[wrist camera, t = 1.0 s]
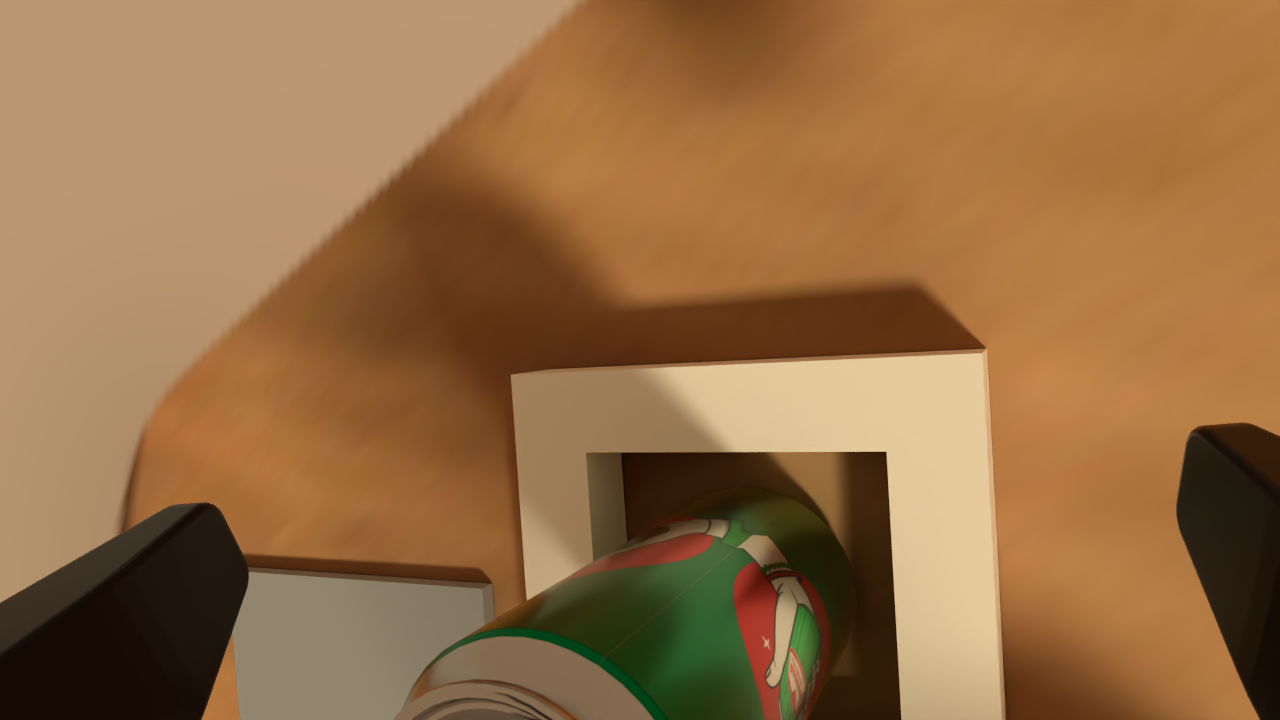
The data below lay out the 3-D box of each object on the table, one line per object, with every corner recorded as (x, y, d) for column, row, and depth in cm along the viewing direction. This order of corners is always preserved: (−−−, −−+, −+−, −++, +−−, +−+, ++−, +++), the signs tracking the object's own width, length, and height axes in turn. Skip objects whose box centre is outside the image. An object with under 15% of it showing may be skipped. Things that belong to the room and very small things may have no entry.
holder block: (1012, 839, 20) (1010, 893, 18) (577, 769, 25) (541, 806, 23) (986, 348, 20) (982, 353, 18) (549, 369, 24) (510, 374, 22)
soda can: (638, 613, 24) (297, 880, 13) (712, 447, 22) (408, 582, 12) (808, 721, 22) (584, 1138, 11) (897, 546, 21) (748, 817, 10)
